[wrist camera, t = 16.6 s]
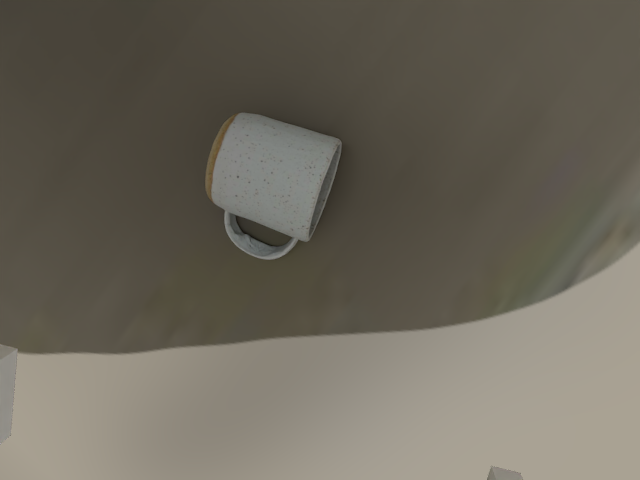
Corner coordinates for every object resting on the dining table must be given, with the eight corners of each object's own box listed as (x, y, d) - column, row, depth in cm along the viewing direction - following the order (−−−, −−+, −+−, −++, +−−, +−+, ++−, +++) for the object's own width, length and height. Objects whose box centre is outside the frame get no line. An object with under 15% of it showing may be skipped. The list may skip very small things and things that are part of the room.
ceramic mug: (244, 108, 42) (216, 103, 34) (346, 139, 41) (340, 141, 34) (211, 237, 44) (177, 259, 36) (307, 267, 44) (293, 295, 36)
